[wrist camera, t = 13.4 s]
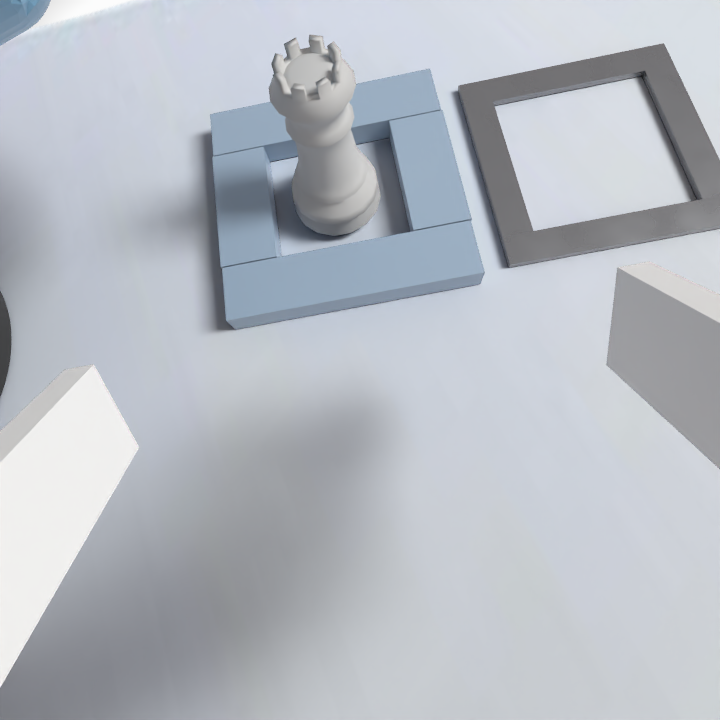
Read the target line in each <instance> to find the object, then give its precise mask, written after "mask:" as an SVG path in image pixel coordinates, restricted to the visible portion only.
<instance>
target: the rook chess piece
mask: <svg viewBox="0 0 720 720" xmlns="http://www.w3.org/2000/svg"><path fill="white" fill-rule="evenodd" d="M309 44H310V47H309V48H304V49H300V48H299V44H298V41H297V39H296V38H294V39H292V40H291V41H289V42H287V43H285V44H284V46H285V50H286V53H287V57H286V58H285V59H283V55H279V54H276V53H275V56H274V59H273V61H272V68H273V71H274V75H273V78H272V81H271V84H270V87H269V94H270V102H271V103H272V105H273V106H274V107H275V109H276V110H277V112H278V113H279V114H281V115H283V116H285V117H286V118H285V124H286V131H287V132H288V134H289V135H290V137H291V138H292V140H294V141H295V143H296V146H297V152H298V164H297V167H296V170H295V173H294V176H293V179H292V195H293V202H294V203H295V208H296V213H297V214H298V216H299V217H300V219H301V220H302V222H303V223H304V225H306V226H307V227H309V228H310V229H312V230H314V231H315V232H317V233H321V234H327V235H333V236H336V235H342V234H347V233H352V232H354V231H355V230H357V229H359V228H360V227H362V226H364V225H366V224H367V223H368V222H369V220H370V219H371V218H372V217H373V215H374V214H375V213H376V212H377V209H378V205H379V201H380V198H381V194H380V189H379V184H378V180H377V175H376V170H375V168H374V167H373V165H372V164H371V162H370V161H369V160H368V159H367V157H366V156H365V155H364V154H362V152H361V151H360V150H359V148H357V146H356V143H355V140H354V137H353V134H352V131H351V127H352V124H353V120H354V113H353V107H352V105H351V104H350V103H349V102H350V100H351V99H352V97H353V93H354V90H355V87H356V80H355V75H354V71H353V70H352V68H351V67H350V66H349V65H348V63H347V62H346V61H345V60H344V59H342V57H341V50H340V49H339V47H338V46H337V45H336V44H335V43H334V41H333V42H332V43H331V44H329V45H328V46H327V47H328V50H327V49H325V47H324V41H323V36H317V35H309Z"/></svg>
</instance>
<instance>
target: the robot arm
mask: <svg viewBox="0 0 720 720" xmlns="http://www.w3.org/2000/svg"><path fill="white" fill-rule="evenodd" d="M49 3H50V0H0V45H2V44H4V43H6V42H7V41H9V40H11V39H12V38H14V37H16V36H18V35H19V34H21V33H23V32H24V31H26V30H28V29H29V28H31V27H32V26H33V25H34V24H36V23H37V22H38V21H39V20H40V18H41V17H42V16H43V15H44V13H45V12H46V10H47V8H48V6H49ZM10 353H11V327H10V319H9V314H8V310H7V307H6V303H5V301H4V298H3V296H2V293H1V292H0V396H1V393H2V390H3V387H4V384H5V380H6V376H7V372H8V367H9V362H10ZM606 365H607V366H608V367H609V368H610V369H611V370H612V371H614V372H615V373H616V374H617V375H618V376H619V377H620V378H621V379H622V380H623V381H624V382H625V383H627V384H628V385H629V386H630V387H631V388H632V389H633V390H634V391H635V392H636V393H637V394H639V395H640V396H641V397H642V398H643V399H644V400H645V401H646V402H647V403H648V404H649V405H650V406H652V407H653V408H654V409H655V410H656V411H657V412H658V413H659V414H660V415H661V416H662V417H664V418H665V419H666V420H667V421H668V422H669V423H670V424H671V425H672V426H673V427H674V428H676V429H677V430H678V431H679V432H680V433H681V434H682V435H683V436H684V437H685V438H686V439H687V440H689V441H690V442H691V443H692V444H693V445H694V446H695V447H696V448H697V449H698V450H699V451H701V452H702V453H703V454H704V455H705V456H706V457H707V458H708V459H709V460H710V461H711V462H713V463H714V464H715V465H716V466H717V467H718V468H719V469H720V294H718V293H716V292H713V291H711V290H709V289H707V288H705V287H703V286H701V285H698V284H696V283H694V282H692V281H690V280H688V279H686V278H684V277H681V276H679V275H677V274H675V273H673V272H671V271H669V270H666V269H664V268H662V267H660V266H658V265H656V264H654V263H651V262H644V263H639V264H634V265H628V266H623V267H617V275H616V284H615V293H614V302H613V311H612V319H611V328H610V337H609V346H608V355H607V364H606ZM138 449H139V446H138V444H137V443H136V441H135V439H134V437H133V435H132V433H131V432H130V430H129V428H128V426H127V424H126V422H125V421H124V419H123V417H122V415H121V413H120V411H119V410H118V408H117V406H116V404H115V402H114V400H113V399H112V397H111V395H110V393H109V391H108V390H107V388H106V386H105V384H104V382H103V380H102V379H101V377H100V375H99V373H98V371H97V369H96V368H95V366H94V364H93V365H87V366H82V367H76V368H71V369H65V370H64V371H63V372H62V373H61V374H60V375H58V376H57V377H56V378H55V379H54V380H53V381H52V382H51V383H50V384H49V385H48V386H47V387H46V388H45V389H44V390H43V391H42V392H41V393H40V394H39V395H38V396H37V397H36V398H34V399H33V400H32V401H31V402H30V403H29V404H28V405H27V406H26V407H25V408H24V409H23V410H22V411H21V412H20V413H19V414H18V415H17V416H16V417H15V418H14V419H13V420H11V421H10V422H9V423H8V424H7V425H6V426H5V427H4V428H3V429H2V430H1V431H0V687H1V686H2V684H3V682H4V680H5V679H6V677H7V675H8V673H9V672H10V670H11V668H12V667H13V665H14V663H15V661H16V660H17V658H18V656H19V654H20V653H21V651H22V649H23V648H24V646H25V644H26V642H27V641H28V639H29V637H30V635H31V634H32V632H33V630H34V629H35V627H36V625H37V623H38V622H39V620H40V618H41V616H42V615H43V613H44V611H45V609H46V608H47V606H48V604H49V603H50V601H51V599H52V597H53V596H54V594H55V592H56V590H57V589H58V587H59V585H60V584H61V582H62V580H63V578H64V577H65V575H66V573H67V571H68V570H69V568H70V566H71V565H72V563H73V561H74V559H75V558H76V556H77V554H78V552H79V551H80V549H81V547H82V546H83V544H84V542H85V540H86V539H87V537H88V535H89V533H90V532H91V530H92V528H93V527H94V525H95V523H96V521H97V520H98V518H99V516H100V514H101V513H102V511H103V509H104V507H105V506H106V504H107V502H108V501H109V499H110V497H111V495H112V494H113V492H114V490H115V488H116V487H117V485H118V483H119V482H120V480H121V478H122V476H123V475H124V473H125V471H126V469H127V468H128V466H129V464H130V463H131V461H132V459H133V457H134V456H135V454H136V452H137V450H138Z"/></svg>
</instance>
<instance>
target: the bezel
mask: <svg viewBox="0 0 720 720" xmlns="http://www.w3.org/2000/svg"><path fill="white" fill-rule="evenodd" d="M638 76H642V77H643V79H644V81H645V83H646V86H647V88H648V90H649V92H650V95H651V97H652V99H653V101H654V104H655V106H656V108H657V110H658V113H659V115H660V117H661V119H662V122H663V124H664V126H665V128H666V130H667V133H668V135H669V137H670V139H671V142H672V144H673V146H674V148H675V151H676V153H677V155H678V157H679V160H680V162H681V164H682V166H683V169H684V171H685V173H686V175H687V178H688V180H689V182H690V184H691V186H692V189H693V191H694V193H695V195H696V198H697V200H695V201H690V202H685V203H680V204H674V205H669V206H664V207H659V208H653V209H648V210H643V211H637V212H632V213H627V214H622V215H616V216H611V217H606V218H601V219H595V220H590V221H585V222H580V223H574V224H569V225H564V226H559V227H553V228H548V229H543V230H537V231H533V229H532V225H531V222H530V219H529V216H528V213H527V209H526V206H525V203H524V200H523V197H522V193H521V190H520V187H519V184H518V181H517V177H516V174H515V171H514V168H513V165H512V161H511V158H510V155H509V152H508V149H507V145H506V142H505V139H504V136H503V133H502V129H501V126H500V123H499V120H498V117H497V114H496V110H495V107H494V106H495V105H500V104H505V103H510V102H515V101H520V100H525V99H530V98H535V97H540V96H545V95H549V94H554V93H559V92H564V91H569V90H574V89H579V88H584V87H589V86H594V85H599V84H604V83H609V82H613V81H618V80H623V79H628V78H633V77H638ZM458 93H459V96H460V100H461V103H462V107H463V110H464V114H465V117H466V121H467V124H468V128H469V131H470V135H471V138H472V142H473V145H474V149H475V152H476V156H477V159H478V162H479V166H480V169H481V173H482V176H483V180H484V183H485V187H486V190H487V194H488V197H489V201H490V204H491V208H492V211H493V215H494V218H495V222H496V225H497V229H498V232H499V236H500V239H501V243H502V246H503V250H504V253H505V257H506V260H507V264H508V267H509V268H510V267H515V266H521V265H526V264H531V263H537V262H542V261H547V260H553V259H558V258H564V257H569V256H574V255H580V254H585V253H590V252H596V251H601V250H606V249H612V248H617V247H622V246H628V245H633V244H638V243H644V242H649V241H654V240H660V239H665V238H671V237H676V236H681V235H687V234H692V233H697V232H703V231H708V230H713V229H719V228H720V160H719V158H718V156H717V154H716V151H715V149H714V147H713V145H712V143H711V141H710V139H709V137H708V135H707V133H706V130H705V128H704V126H703V124H702V122H701V120H700V118H699V116H698V114H697V112H696V110H695V107H694V105H693V103H692V101H691V99H690V97H689V95H688V93H687V91H686V89H685V87H684V84H683V82H682V80H681V78H680V76H679V74H678V72H677V70H676V68H675V66H674V64H673V61H672V59H671V57H670V55H669V53H668V51H667V49H666V47H665V45H664V43H663V44H659V45H654V46H649V47H644V48H639V49H634V50H629V51H625V52H620V53H615V54H610V55H605V56H600V57H595V58H591V59H586V60H581V61H576V62H571V63H566V64H562V65H557V66H552V67H547V68H542V69H537V70H532V71H528V72H523V73H518V74H513V75H508V76H503V77H498V78H494V79H489V80H484V81H479V82H474V83H469V84H464V85H460V86H458Z"/></svg>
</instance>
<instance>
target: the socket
mask: <svg viewBox="0 0 720 720" xmlns="http://www.w3.org/2000/svg"><path fill="white" fill-rule="evenodd" d="M349 103H350V104H351V105H352V107H353V113H354V120H353V124H352V127H351V131H352V134H353V137H354V140H355V143H356V144H360V143H365V142H370V141H375V140H380V139H385V138H390V141H391V146H392V150H393V155H394V159H395V164H396V168H397V173H398V177H399V182H400V186H401V191H402V195H403V200H404V205H405V209H406V214H407V218H408V223H409V227H410V232H407V233H401V234H396V235H391V236H386V237H381V238H375V239H370V240H365V241H360V242H355V243H349V244H344V245H339V246H334V247H329V248H323V249H318V250H313V251H308V252H303V253H297V254H292V255H287V256H281V248H280V240H279V231H278V223H277V215H276V207H275V198H274V190H273V182H272V174H271V166H270V162H271V161H276V160H281V159H286V158H291V157H296V156H298V152H297V146H296V143H295V141H294V140H292V138H291V137H290V135H289V134H288V132H287V131H286V124H285V118H286V117H285V116H283V115H281V114H279V113H278V112H277V110H276V109H275V107H274V106H273V105H272V103H271V102H267V103H262V104H258V105H253V106H248V107H243V108H238V109H234V110H229V111H224V112H219V113H214V114H210V119H211V132H212V145H213V156H214V157H212V160H213V173H214V186H215V199H216V212H217V225H218V238H219V252H220V265H221V268H222V274H223V287H224V300H225V313H226V321H227V322H228V323H229V324H230V325H231V326H232V327H233V328H234V329H235V330H236V329H241V328H247V327H252V326H257V325H263V324H268V323H273V322H279V321H284V320H290V319H295V318H300V317H306V316H311V315H317V314H322V313H327V312H333V311H338V310H343V309H349V308H354V307H360V306H365V305H370V304H376V303H381V302H386V301H392V300H397V299H403V298H408V297H413V296H419V295H424V294H430V293H435V292H440V291H446V290H451V289H456V288H462V287H467V286H473V285H478V284H480V283H481V281H482V278H483V275H484V273H485V272H484V268H483V264H482V261H481V257H480V253H479V249H478V246H477V242H476V238H475V235H474V231H473V227H472V223H471V219H472V218H471V214H470V211H469V207H468V203H467V200H466V196H465V192H464V188H463V185H462V181H461V177H460V174H459V170H458V166H457V162H456V159H455V155H454V151H453V148H452V144H451V140H450V136H449V133H448V129H447V125H446V122H445V118H444V114H443V110H441V108H440V104H439V100H438V97H437V93H436V89H435V85H434V82H433V78H432V74H431V70H430V69H426V70H421V71H416V72H411V73H406V74H402V75H397V76H392V77H387V78H382V79H378V80H373V81H368V82H363V83H358V84H356V87H355V90H354V93H353V97H352V99H351V100H350V102H349Z"/></svg>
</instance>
